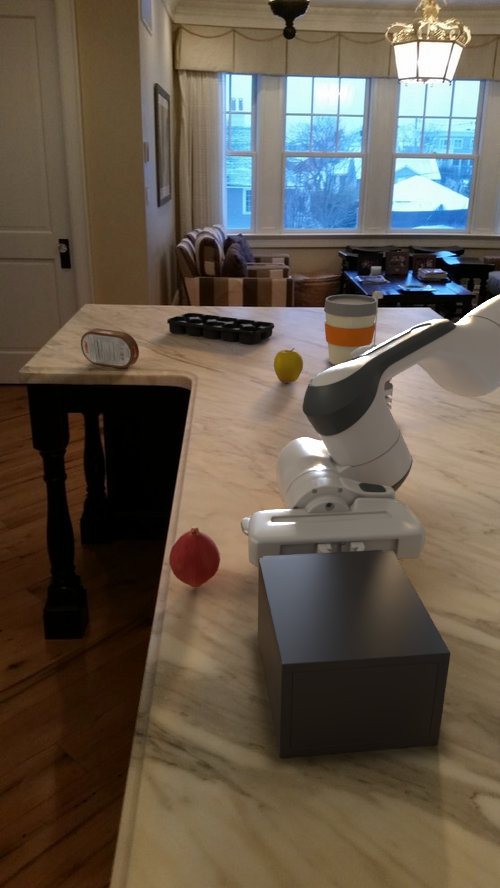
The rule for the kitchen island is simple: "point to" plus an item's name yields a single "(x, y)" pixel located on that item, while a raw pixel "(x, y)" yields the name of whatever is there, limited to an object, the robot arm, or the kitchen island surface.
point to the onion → (194, 558)
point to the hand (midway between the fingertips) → (349, 574)
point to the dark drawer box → (348, 654)
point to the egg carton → (221, 327)
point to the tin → (109, 348)
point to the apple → (288, 365)
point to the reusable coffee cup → (348, 325)
